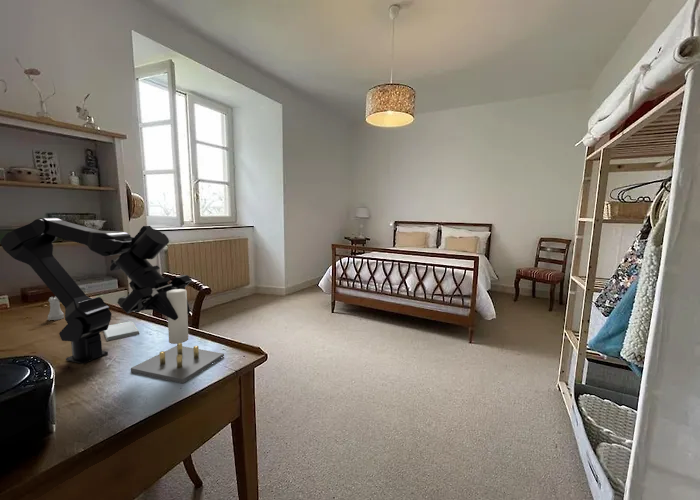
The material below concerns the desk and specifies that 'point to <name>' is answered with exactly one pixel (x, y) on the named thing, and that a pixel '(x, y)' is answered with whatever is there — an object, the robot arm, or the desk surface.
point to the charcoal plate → (177, 363)
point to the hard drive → (120, 330)
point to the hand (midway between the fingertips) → (182, 315)
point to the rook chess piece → (55, 309)
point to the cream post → (179, 326)
